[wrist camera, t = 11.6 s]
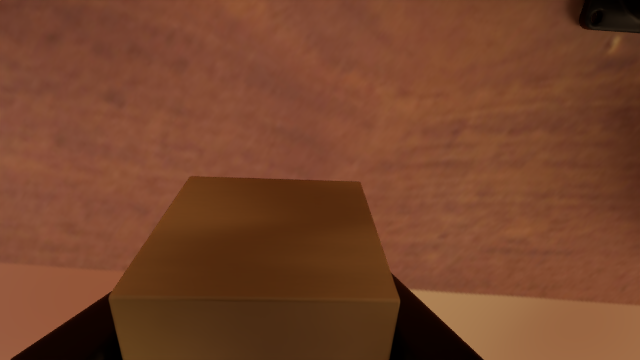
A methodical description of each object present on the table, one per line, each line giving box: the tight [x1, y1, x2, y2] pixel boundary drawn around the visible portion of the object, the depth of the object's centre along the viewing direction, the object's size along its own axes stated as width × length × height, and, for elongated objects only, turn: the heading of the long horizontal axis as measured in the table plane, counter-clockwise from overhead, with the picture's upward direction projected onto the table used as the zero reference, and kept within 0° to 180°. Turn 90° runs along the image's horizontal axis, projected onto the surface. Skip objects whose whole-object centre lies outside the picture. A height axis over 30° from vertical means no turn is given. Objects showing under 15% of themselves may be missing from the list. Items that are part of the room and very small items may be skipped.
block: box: [109, 176, 400, 360], centre depth 8 cm, size 4×4×4 cm
